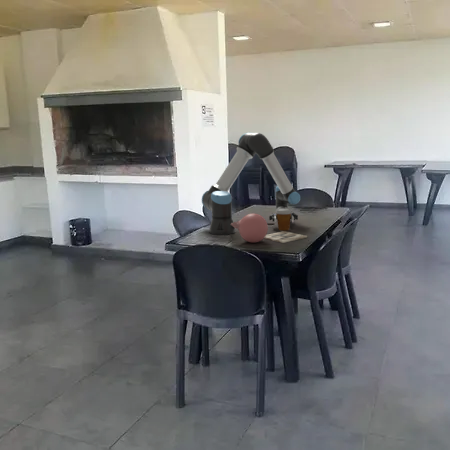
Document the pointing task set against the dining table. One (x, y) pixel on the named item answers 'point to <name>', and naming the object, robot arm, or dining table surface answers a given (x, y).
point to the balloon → (252, 227)
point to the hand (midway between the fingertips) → (284, 220)
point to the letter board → (284, 236)
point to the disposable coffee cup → (283, 218)
